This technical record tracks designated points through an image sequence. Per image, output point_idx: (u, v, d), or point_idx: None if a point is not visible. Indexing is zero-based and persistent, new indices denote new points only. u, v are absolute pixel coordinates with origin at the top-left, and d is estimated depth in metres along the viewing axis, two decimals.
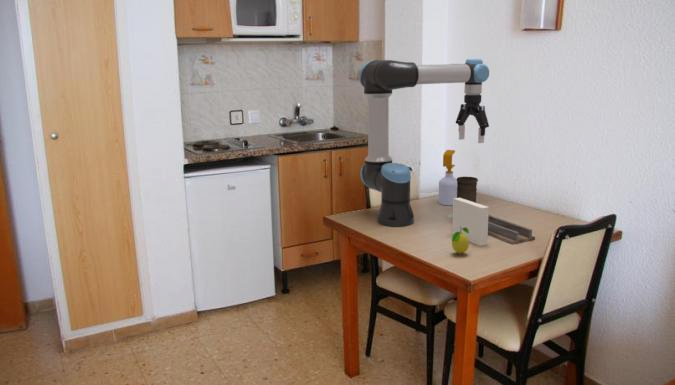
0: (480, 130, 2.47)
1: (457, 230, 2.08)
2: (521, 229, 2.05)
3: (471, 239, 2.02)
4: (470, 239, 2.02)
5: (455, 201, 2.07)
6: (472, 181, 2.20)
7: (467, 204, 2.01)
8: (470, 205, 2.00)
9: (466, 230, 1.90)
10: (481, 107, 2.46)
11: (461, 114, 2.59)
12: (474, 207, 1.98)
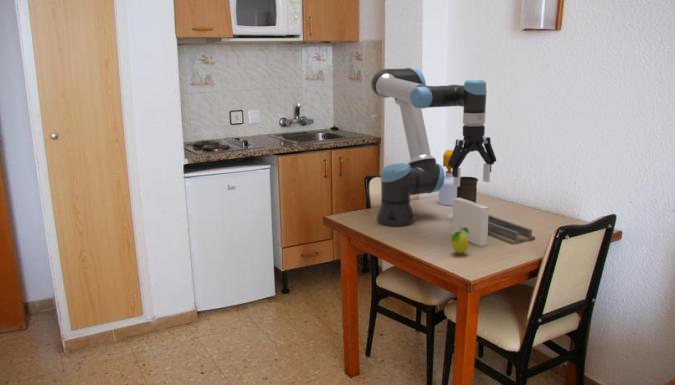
0: None
1: (457, 230, 2.08)
2: (521, 229, 2.05)
3: (471, 239, 2.02)
4: (470, 239, 2.02)
5: (455, 201, 2.07)
6: (472, 181, 2.20)
7: (467, 204, 2.01)
8: (470, 205, 2.00)
9: (466, 230, 1.90)
10: (457, 141, 1.95)
11: (487, 149, 2.02)
12: (474, 207, 1.98)
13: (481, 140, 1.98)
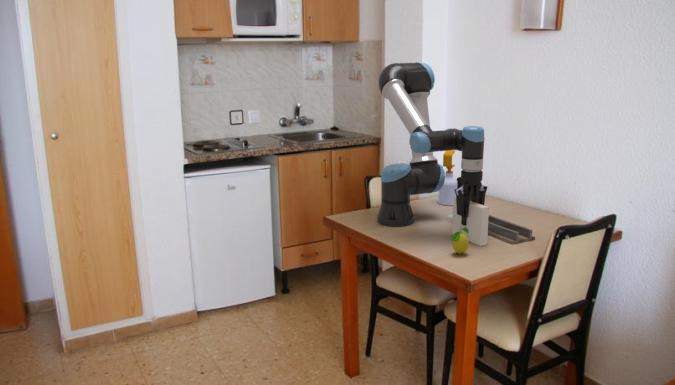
0: None
1: (457, 230, 2.08)
2: (521, 229, 2.05)
3: (471, 239, 2.02)
4: (470, 239, 2.02)
5: (455, 201, 2.07)
6: None
7: None
8: (470, 205, 2.00)
9: (466, 230, 1.90)
10: (455, 191, 1.99)
11: (479, 198, 2.04)
12: (474, 207, 1.98)
13: (479, 184, 2.01)
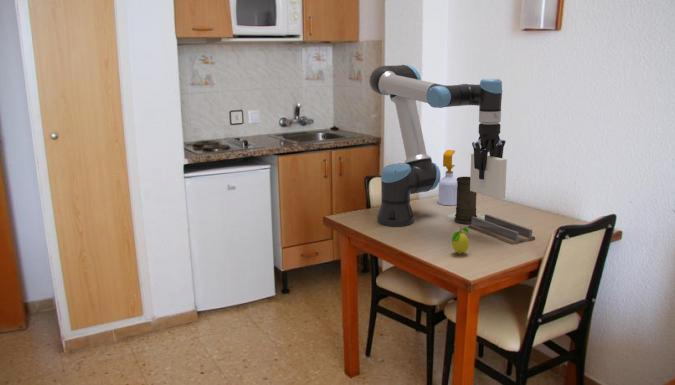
0: None
1: (475, 186, 2.07)
2: (521, 229, 2.05)
3: (489, 193, 2.01)
4: (488, 193, 2.01)
5: (473, 156, 2.06)
6: None
7: None
8: (488, 158, 1.99)
9: (466, 230, 1.90)
10: (473, 145, 1.98)
11: (497, 152, 2.03)
12: (492, 160, 1.97)
13: (497, 138, 2.00)
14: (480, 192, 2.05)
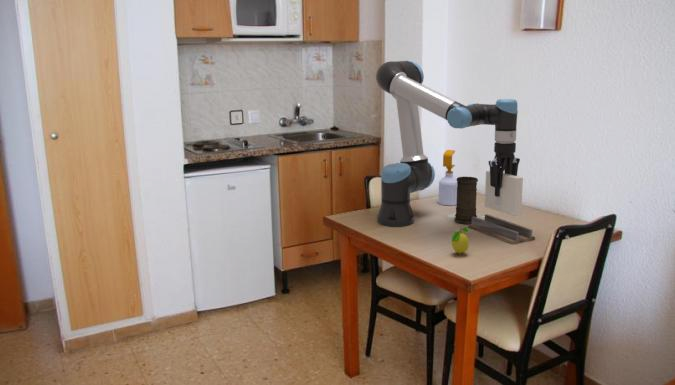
0: None
1: (490, 202, 2.13)
2: (521, 229, 2.05)
3: (505, 210, 2.06)
4: (504, 210, 2.06)
5: (488, 174, 2.12)
6: (472, 181, 2.20)
7: None
8: (504, 176, 2.04)
9: (466, 230, 1.90)
10: (489, 163, 2.03)
11: (511, 170, 2.08)
12: (508, 178, 2.02)
13: (512, 156, 2.05)
14: (495, 208, 2.10)
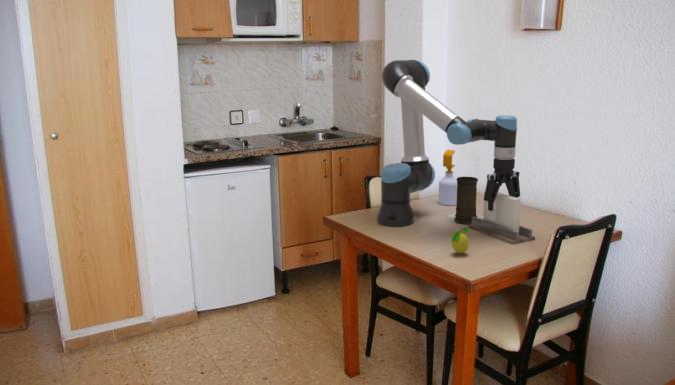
0: None
1: None
2: (521, 229, 2.05)
3: None
4: None
5: None
6: (472, 181, 2.20)
7: (498, 196, 2.08)
8: (502, 197, 2.06)
9: (466, 230, 1.90)
10: (488, 176, 2.04)
11: (513, 183, 2.10)
12: (506, 199, 2.04)
13: (511, 172, 2.07)
14: None
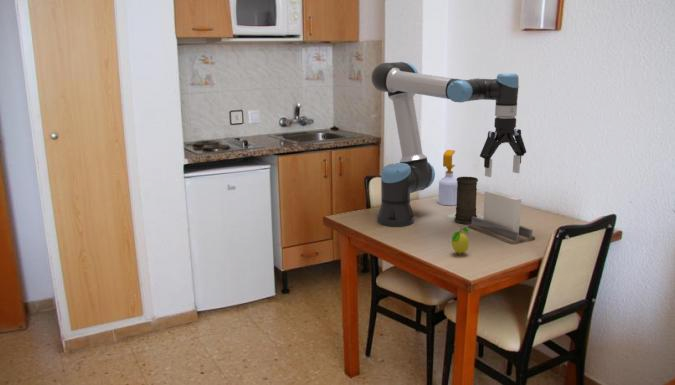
0: None
1: None
2: (521, 229, 2.05)
3: None
4: None
5: (486, 193, 2.14)
6: (472, 181, 2.20)
7: (499, 196, 2.08)
8: (502, 197, 2.06)
9: (466, 230, 1.90)
10: (489, 133, 2.01)
11: (517, 141, 2.07)
12: (506, 199, 2.04)
13: (512, 132, 2.03)
14: None
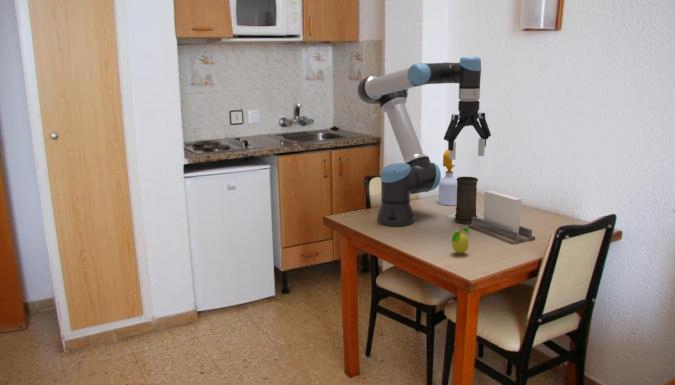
0: None
1: None
2: (521, 229, 2.05)
3: None
4: None
5: (486, 193, 2.14)
6: (472, 181, 2.20)
7: (499, 196, 2.08)
8: (502, 197, 2.06)
9: (466, 230, 1.90)
10: (452, 116, 2.03)
11: (481, 125, 2.09)
12: (506, 199, 2.04)
13: (476, 115, 2.05)
14: None
